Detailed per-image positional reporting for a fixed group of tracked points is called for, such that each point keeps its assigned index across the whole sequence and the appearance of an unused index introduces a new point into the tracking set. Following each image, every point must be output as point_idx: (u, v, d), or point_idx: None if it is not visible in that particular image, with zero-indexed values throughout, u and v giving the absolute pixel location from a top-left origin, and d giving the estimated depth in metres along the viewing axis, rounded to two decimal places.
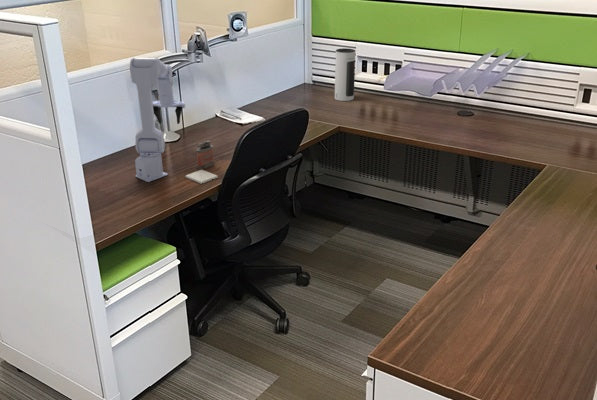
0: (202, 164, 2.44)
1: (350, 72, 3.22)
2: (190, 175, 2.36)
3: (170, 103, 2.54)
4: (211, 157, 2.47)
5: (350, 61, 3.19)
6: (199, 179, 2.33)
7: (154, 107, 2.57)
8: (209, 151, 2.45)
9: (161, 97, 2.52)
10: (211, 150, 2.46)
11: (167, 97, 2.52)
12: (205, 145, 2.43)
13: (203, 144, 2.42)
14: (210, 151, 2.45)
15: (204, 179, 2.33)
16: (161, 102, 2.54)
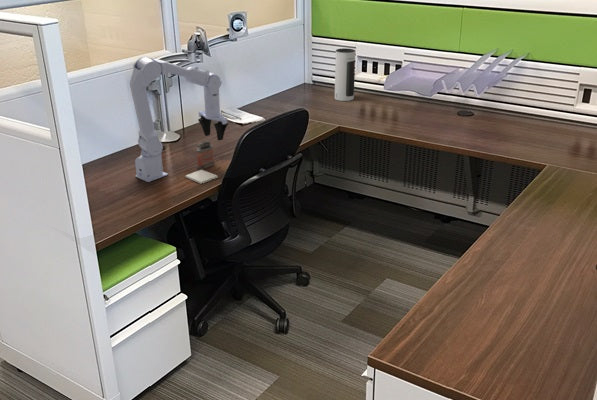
0: (202, 164, 2.44)
1: (350, 72, 3.22)
2: (190, 175, 2.36)
3: (212, 115, 2.39)
4: (211, 157, 2.47)
5: (350, 61, 3.19)
6: (199, 179, 2.33)
7: (202, 117, 2.45)
8: (209, 151, 2.45)
9: (205, 107, 2.40)
10: (211, 150, 2.46)
11: (209, 108, 2.38)
12: (205, 145, 2.43)
13: (203, 144, 2.42)
14: (210, 151, 2.45)
15: (204, 179, 2.33)
16: (205, 112, 2.41)
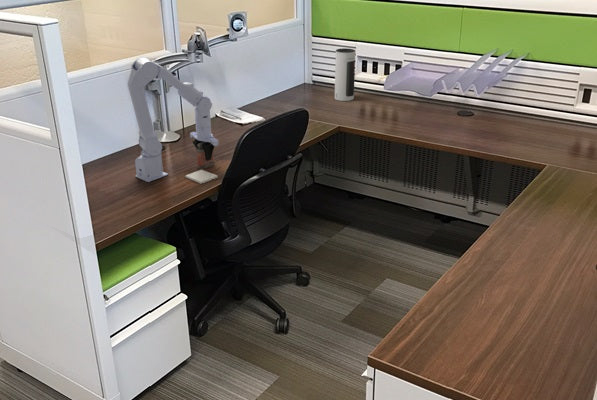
0: (202, 164, 2.44)
1: (350, 72, 3.22)
2: (190, 175, 2.36)
3: (203, 137, 2.39)
4: (211, 157, 2.47)
5: (350, 61, 3.19)
6: (199, 179, 2.33)
7: None
8: None
9: (196, 128, 2.39)
10: None
11: (200, 129, 2.38)
12: None
13: None
14: None
15: (204, 179, 2.33)
16: (196, 134, 2.41)
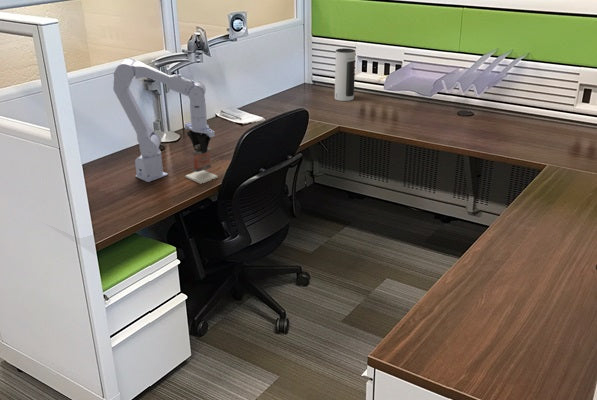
0: (199, 167, 2.34)
1: (350, 72, 3.22)
2: (190, 175, 2.36)
3: (198, 128, 2.27)
4: (208, 160, 2.37)
5: (350, 61, 3.19)
6: (199, 179, 2.33)
7: None
8: (206, 154, 2.35)
9: (191, 119, 2.28)
10: (208, 153, 2.36)
11: (195, 120, 2.26)
12: None
13: None
14: (207, 154, 2.36)
15: (204, 179, 2.33)
16: (191, 124, 2.29)
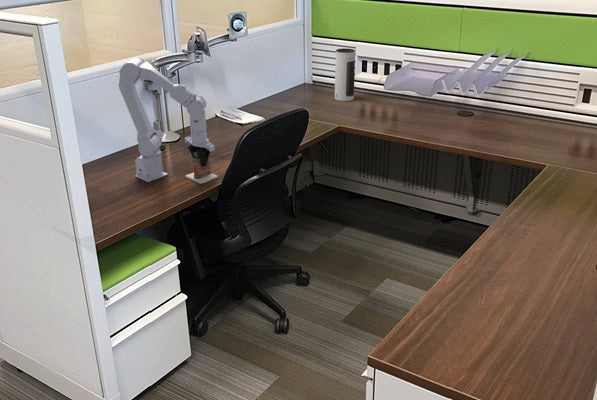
0: (199, 174, 2.33)
1: (350, 72, 3.22)
2: (190, 175, 2.36)
3: (198, 142, 2.27)
4: (208, 166, 2.36)
5: (350, 61, 3.19)
6: (199, 179, 2.33)
7: None
8: None
9: (191, 133, 2.28)
10: (208, 159, 2.35)
11: (195, 134, 2.26)
12: None
13: None
14: None
15: (204, 179, 2.33)
16: (191, 139, 2.29)
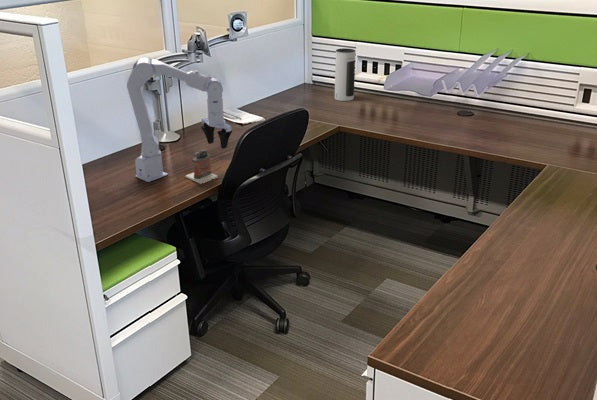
0: (199, 174, 2.33)
1: (350, 72, 3.22)
2: (190, 175, 2.36)
3: (215, 123, 2.31)
4: (208, 166, 2.36)
5: (350, 61, 3.19)
6: (199, 179, 2.33)
7: (205, 124, 2.37)
8: (206, 160, 2.34)
9: (208, 114, 2.31)
10: (208, 159, 2.35)
11: (212, 115, 2.30)
12: (202, 154, 2.32)
13: (200, 153, 2.31)
14: (207, 160, 2.34)
15: (204, 179, 2.33)
16: (208, 119, 2.32)
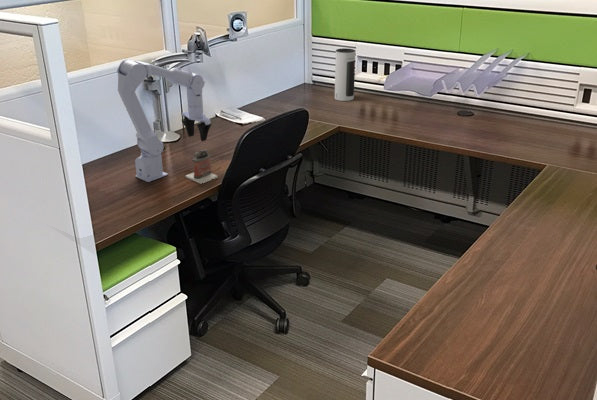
0: (199, 174, 2.33)
1: (350, 72, 3.22)
2: (190, 175, 2.36)
3: (195, 116, 2.38)
4: (208, 166, 2.36)
5: (350, 61, 3.19)
6: (199, 179, 2.33)
7: (186, 117, 2.44)
8: (206, 160, 2.34)
9: (188, 107, 2.39)
10: (208, 159, 2.35)
11: (192, 108, 2.37)
12: (202, 154, 2.32)
13: (200, 153, 2.31)
14: (207, 160, 2.34)
15: (204, 179, 2.33)
16: (188, 113, 2.40)
